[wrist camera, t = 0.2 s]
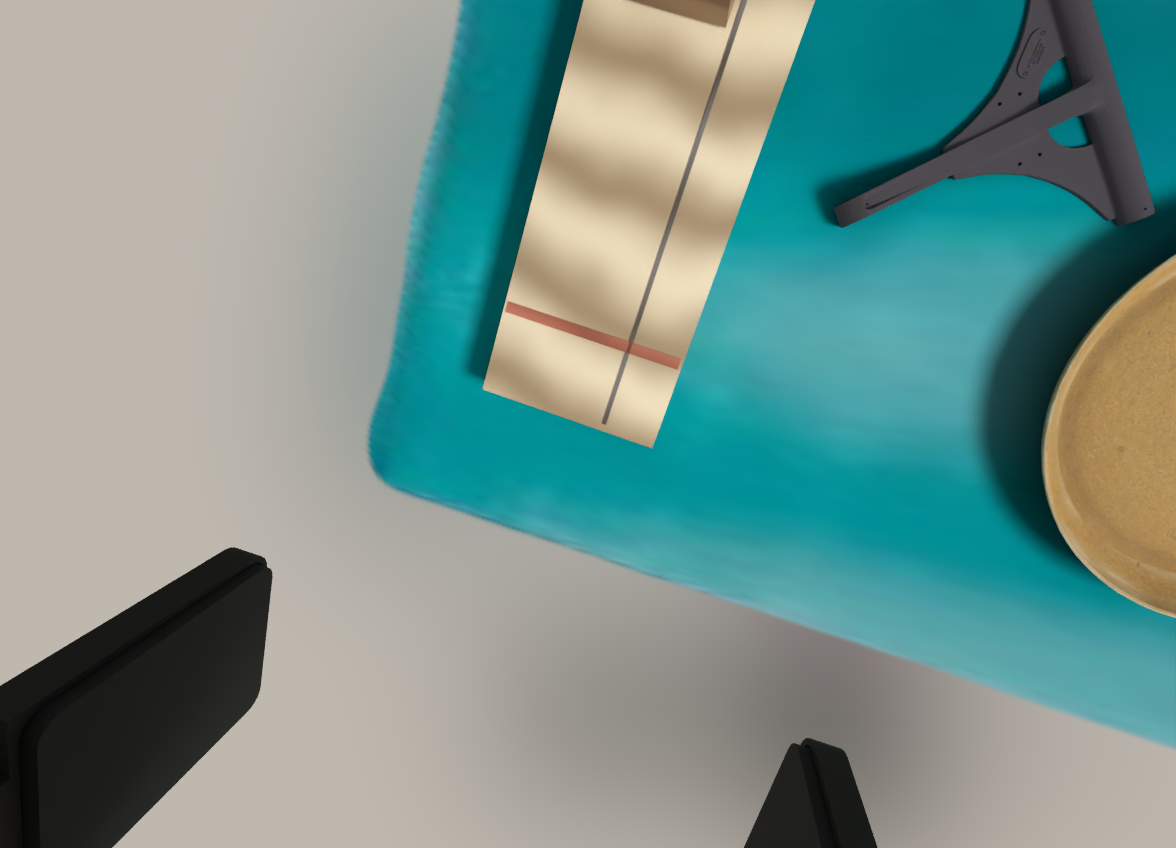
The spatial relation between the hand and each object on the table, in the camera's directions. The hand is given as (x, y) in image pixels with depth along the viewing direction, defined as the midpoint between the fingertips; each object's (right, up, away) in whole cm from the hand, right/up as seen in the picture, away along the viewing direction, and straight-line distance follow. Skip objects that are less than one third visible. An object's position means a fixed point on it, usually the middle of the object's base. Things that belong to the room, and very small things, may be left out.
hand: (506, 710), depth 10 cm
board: (+5, +19, +26) cm, 33 cm away
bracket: (+23, +20, +24) cm, 39 cm away
